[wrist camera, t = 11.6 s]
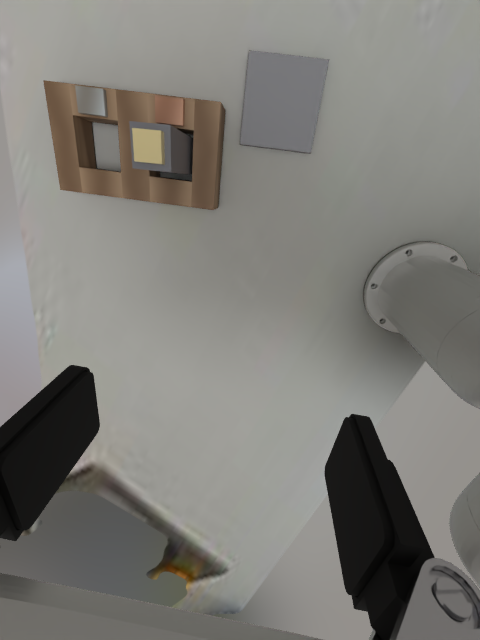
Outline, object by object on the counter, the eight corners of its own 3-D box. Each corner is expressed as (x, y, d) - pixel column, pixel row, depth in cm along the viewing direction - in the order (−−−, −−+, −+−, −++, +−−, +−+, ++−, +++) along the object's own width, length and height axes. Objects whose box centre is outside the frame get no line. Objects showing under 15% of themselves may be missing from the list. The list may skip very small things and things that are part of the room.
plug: (197, 141, 32) (167, 123, 23) (196, 175, 34) (168, 172, 24) (167, 138, 32) (124, 119, 23) (168, 172, 34) (128, 167, 24)
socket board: (225, 110, 31) (219, 100, 27) (218, 207, 35) (212, 210, 31) (65, 90, 31) (39, 78, 27) (78, 189, 36) (57, 189, 32)
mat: (327, 62, 28) (329, 59, 28) (310, 153, 32) (310, 152, 31) (249, 52, 28) (249, 50, 28) (240, 144, 32) (239, 143, 31)
